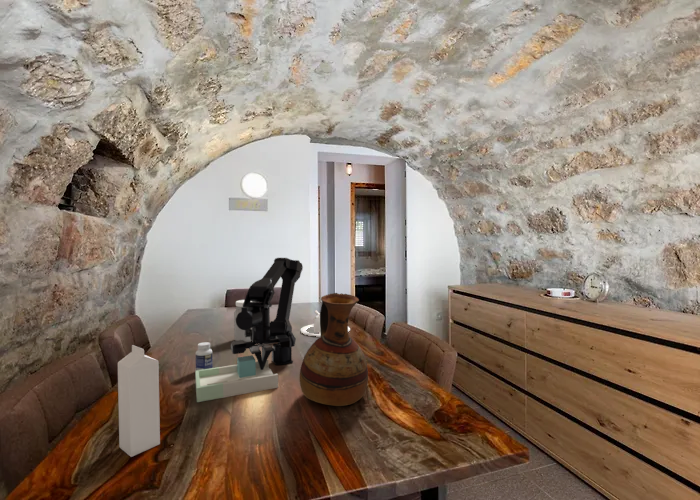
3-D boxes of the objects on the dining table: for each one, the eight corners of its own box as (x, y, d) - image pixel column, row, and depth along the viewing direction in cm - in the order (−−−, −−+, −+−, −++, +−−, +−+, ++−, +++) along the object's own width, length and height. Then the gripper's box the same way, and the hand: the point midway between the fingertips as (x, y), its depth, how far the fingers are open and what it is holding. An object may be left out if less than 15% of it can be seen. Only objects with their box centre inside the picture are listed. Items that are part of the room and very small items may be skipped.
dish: (294, 337, 167) (293, 313, 167) (308, 324, 191) (308, 304, 191) (345, 339, 163) (344, 314, 162) (353, 326, 187) (353, 305, 187)
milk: (147, 435, 82) (146, 341, 81) (160, 444, 78) (159, 345, 78) (118, 448, 77) (117, 347, 77) (130, 458, 73) (128, 352, 73)
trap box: (267, 371, 122) (267, 359, 122) (278, 387, 108) (278, 374, 108) (195, 382, 112) (195, 370, 112) (196, 402, 99) (196, 388, 98)
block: (252, 370, 118) (252, 355, 118) (255, 375, 113) (255, 359, 113) (237, 372, 116) (237, 357, 115) (239, 377, 111) (239, 362, 111)
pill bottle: (206, 375, 119) (206, 346, 119) (192, 373, 120) (192, 345, 120) (215, 369, 124) (215, 341, 124) (202, 368, 125) (201, 341, 125)
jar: (247, 336, 168) (247, 298, 167) (261, 339, 162) (260, 300, 162) (229, 340, 160) (229, 301, 159) (243, 344, 154) (243, 303, 154)
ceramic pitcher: (315, 420, 88) (314, 301, 87) (290, 390, 106) (289, 291, 105) (381, 403, 97) (381, 295, 96) (348, 378, 115) (347, 287, 114)
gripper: (282, 315, 127) (283, 358, 128) (228, 320, 119) (229, 366, 120) (291, 321, 117) (291, 367, 118) (232, 328, 109) (233, 377, 110)
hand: (261, 369), depth 116 cm, fingers closed
